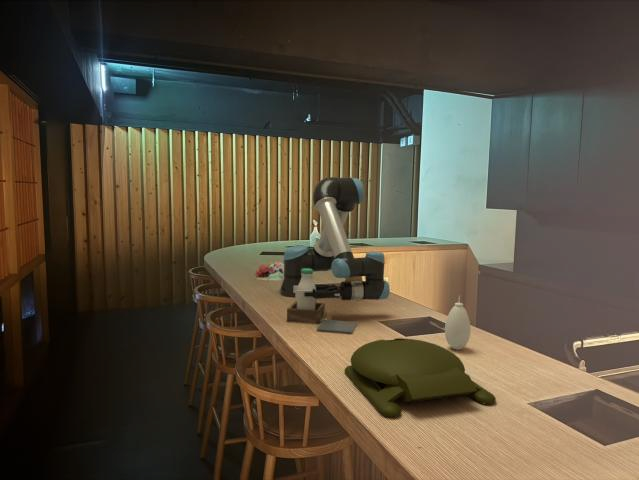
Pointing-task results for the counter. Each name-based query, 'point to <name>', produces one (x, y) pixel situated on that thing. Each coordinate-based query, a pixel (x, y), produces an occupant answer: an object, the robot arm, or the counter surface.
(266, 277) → the candy landscape model
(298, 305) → the milk bottle
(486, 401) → the spaceship
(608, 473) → the counter surface
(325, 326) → the slate tile
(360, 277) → the natural sponge
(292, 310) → the walnut caddy
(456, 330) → the grey air blower bulb
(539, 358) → the counter surface
